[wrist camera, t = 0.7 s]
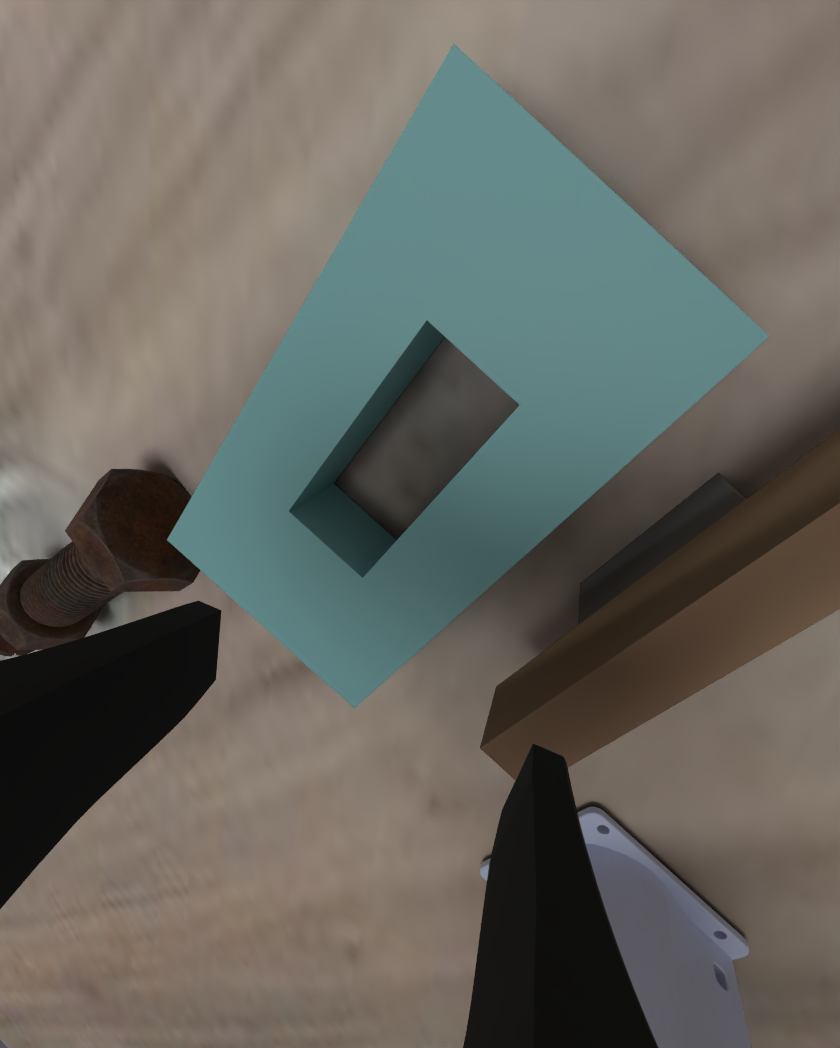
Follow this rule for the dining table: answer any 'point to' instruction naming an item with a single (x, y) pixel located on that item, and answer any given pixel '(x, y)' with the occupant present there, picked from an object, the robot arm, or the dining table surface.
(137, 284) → the dining table surface
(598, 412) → the post block
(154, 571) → the bolt
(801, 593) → the long brown beam
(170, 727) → the robot arm
